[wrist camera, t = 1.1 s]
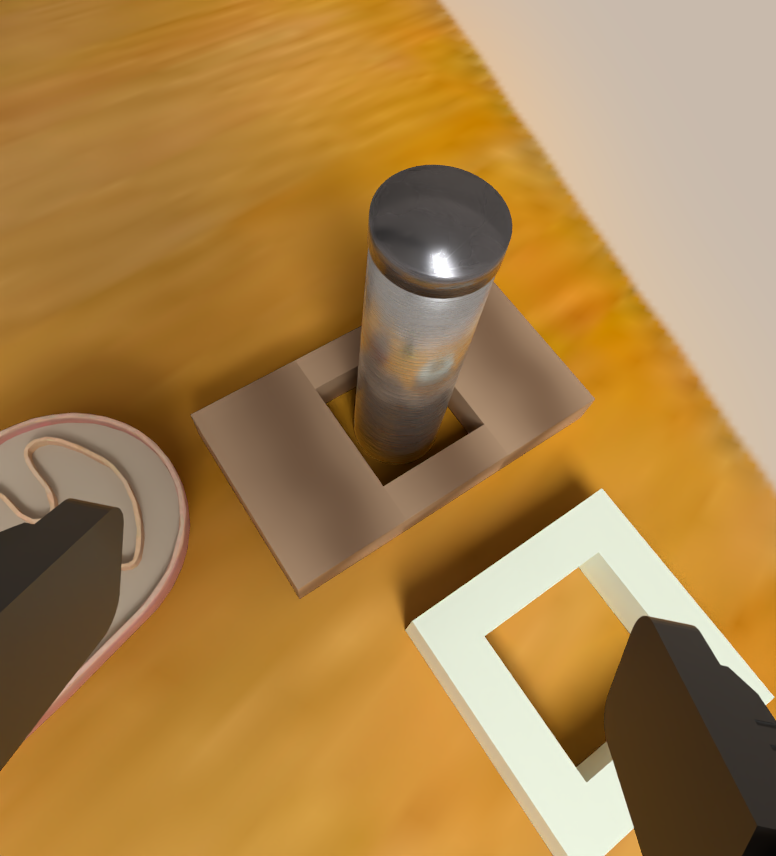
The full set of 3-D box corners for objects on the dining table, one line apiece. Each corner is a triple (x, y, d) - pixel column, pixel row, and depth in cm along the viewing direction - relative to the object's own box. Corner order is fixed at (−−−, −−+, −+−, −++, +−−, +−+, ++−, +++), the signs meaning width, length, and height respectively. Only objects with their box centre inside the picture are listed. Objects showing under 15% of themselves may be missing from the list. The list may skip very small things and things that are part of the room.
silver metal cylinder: (336, 413, 31) (341, 197, 19) (406, 373, 33) (455, 146, 20) (384, 481, 30) (424, 300, 17) (455, 437, 31) (540, 238, 19)
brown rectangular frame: (299, 598, 28) (297, 589, 26) (198, 433, 30) (190, 414, 28) (580, 417, 32) (595, 399, 30) (471, 288, 35) (478, 264, 33)
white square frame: (405, 629, 27) (412, 621, 25) (581, 506, 30) (601, 488, 28) (558, 862, 24) (581, 876, 22) (737, 700, 27) (774, 697, 25)
